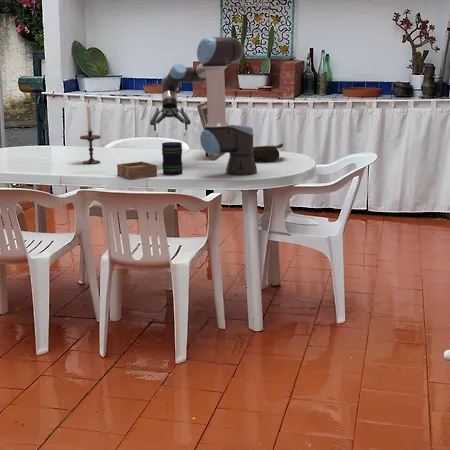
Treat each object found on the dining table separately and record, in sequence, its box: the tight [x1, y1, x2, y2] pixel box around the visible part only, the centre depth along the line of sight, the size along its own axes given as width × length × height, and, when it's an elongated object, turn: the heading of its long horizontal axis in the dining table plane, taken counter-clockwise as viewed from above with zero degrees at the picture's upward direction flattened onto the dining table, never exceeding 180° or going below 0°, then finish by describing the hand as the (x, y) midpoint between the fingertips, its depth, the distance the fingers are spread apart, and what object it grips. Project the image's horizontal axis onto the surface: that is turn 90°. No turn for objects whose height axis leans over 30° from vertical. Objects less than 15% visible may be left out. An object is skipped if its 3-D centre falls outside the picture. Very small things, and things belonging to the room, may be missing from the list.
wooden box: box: [116, 161, 158, 181], centre depth 361 cm, size 14×14×6 cm
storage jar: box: [161, 141, 183, 176], centre depth 365 cm, size 10×10×15 cm
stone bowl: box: [253, 143, 284, 163], centre depth 406 cm, size 25×25×9 cm
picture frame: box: [196, 101, 225, 161], centre depth 419 cm, size 33×10×30 cm, turn 168°
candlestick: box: [79, 97, 102, 165], centre depth 398 cm, size 11×11×35 cm
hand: (170, 134), depth 372 cm, fingers open, 13 cm apart
